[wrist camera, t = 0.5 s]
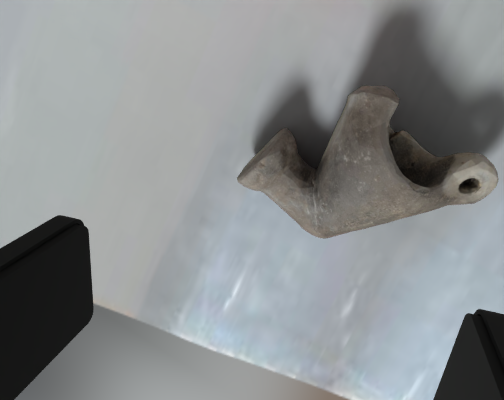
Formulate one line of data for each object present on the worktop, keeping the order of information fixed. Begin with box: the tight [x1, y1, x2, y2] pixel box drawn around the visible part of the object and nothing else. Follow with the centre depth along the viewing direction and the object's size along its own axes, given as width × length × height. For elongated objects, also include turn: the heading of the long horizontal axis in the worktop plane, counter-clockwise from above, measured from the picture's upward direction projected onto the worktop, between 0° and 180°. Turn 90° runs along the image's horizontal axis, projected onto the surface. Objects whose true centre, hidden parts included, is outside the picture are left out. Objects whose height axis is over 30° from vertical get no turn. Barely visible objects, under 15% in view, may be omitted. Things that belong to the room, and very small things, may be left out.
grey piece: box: [237, 85, 498, 239], centre depth 34 cm, size 16×9×15 cm
